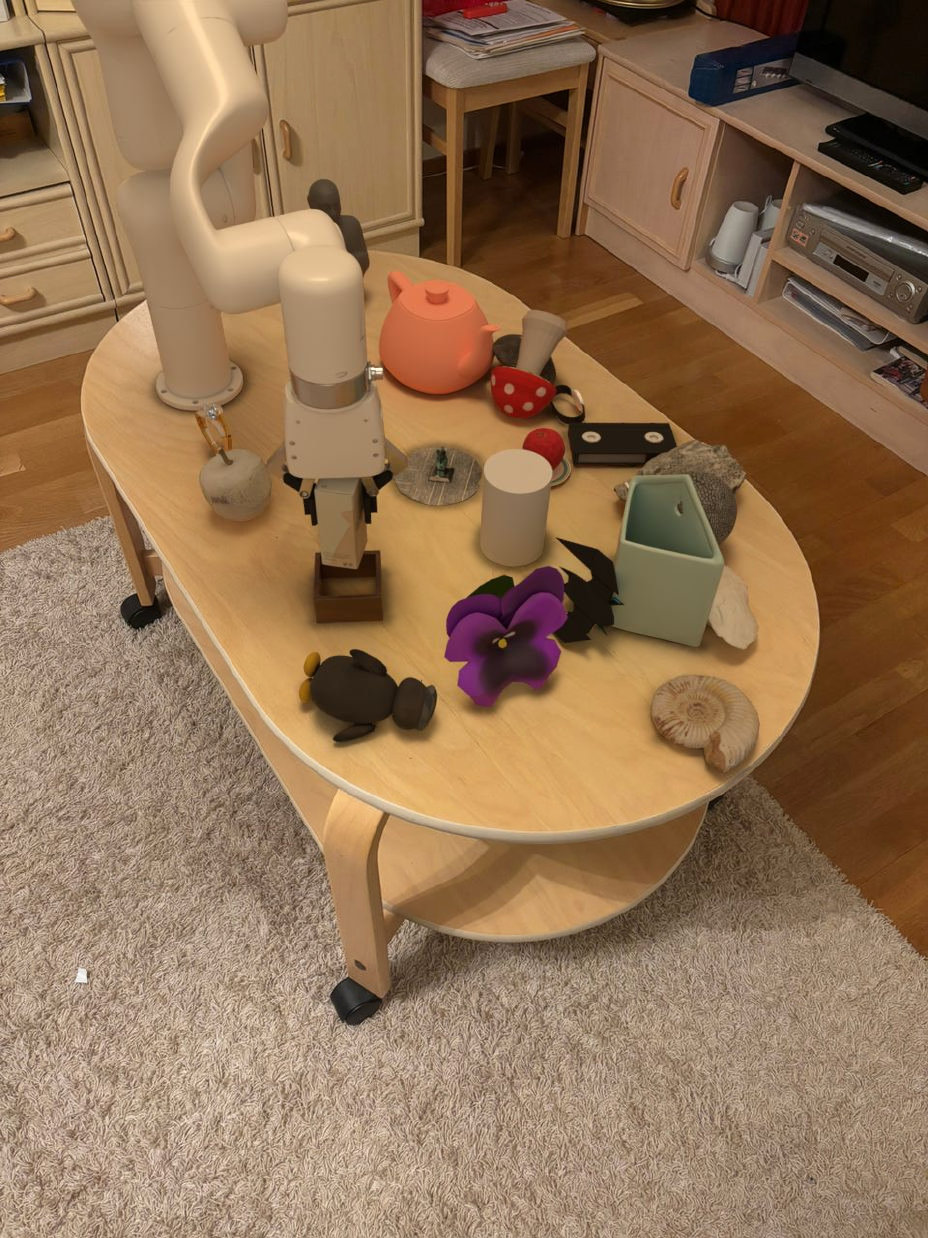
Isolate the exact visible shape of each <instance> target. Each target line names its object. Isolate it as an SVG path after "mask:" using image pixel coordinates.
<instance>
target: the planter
mask: <svg viewBox="0 0 928 1238" xmlns="http://www.w3.org/2000/svg"><path fill="white" fill-rule="evenodd" d="M635 475H636V474H635ZM635 475H634V476H632V477H631V480H630V484H629V489H628V494H627V499H626V502H625V504H624V508H623V509H624V510H623V514H622V520H621V526H620V530H619V535H618V541H617V546H616V549H615V556H614V560H613V565H614V570H615V576H616V581H617V587H618V592H619V596H618V595H617V594H616V593H615V592H614V594H613V596H612V597H613V598H616V599H618V600H619V601H621V602H622V603H623V604H625V605H613V606H611V607H612V611H613V615H614V625H612V626H611V627H614V628H617V629H620V630H624V631H625V632H626V631H627V632H630V633H635V634H640V635H643V636H646V637H651V638H652V637H653V638H657V639H661V640H665V641H670V642H674V643H677V644H682V645H685V646H689V647H694V648H699V647H700V646H701V643H702V640H703V637H704V633H705V630H706V628H707V625H708V624H707V621H708V618H709V615H710V612H711V608H712V605H713V602H714V599H715V596H716V592H717V589H718V586H719V583H720V580H721V576H722V572H723V568H724V565H725V559H724V557H723V554H722V552H721V549H720V546H719V545H718V544H717V541H716V539H715V536H714V534H713V531H712V529H711V527H710V524H709V522H708V519H707V517H706V515H705V512H704V510H703V507H702V505H701V502H700V500H699V497H698V495H697V492H696V490H695V487H694V485H693V482H692V479H691V477H690V476H689V475H688V474H679V475H636V476H635ZM681 501H682V510H683V513H682V514H680V513H679V511H678V508H677V505H678V504H679V503H680V502H681Z"/></svg>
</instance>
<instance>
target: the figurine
mask: <svg viewBox="0 0 928 1238" xmlns="http://www.w3.org/2000/svg"><path fill="white" fill-rule="evenodd" d="M306 200H307V204H308V207H309V209H317V210H321V211H323V212H325V213H326V214H327V215H328V216H329V217H330V218H331V219H332V220H333V222H335V223H336V224H337V225H338V226H339V228H340V230H341V232H342V235H343V238H344V242H345V248H346V250H347V252H348V253H350V254H351V255H352V256H353V257H354V258H355V259H356V260H357V261H358V263H359V265H360V267H361V270H362V274H363V278H364V277H365V274H366V272H367V271H368V270H369V268H370V262H371V261H370V255H369V251H368V248H367V244H366V239H365V236H364V233H363V229H362V225H361V222H360V221H359V220H358V218H357V217H356V216H353V215H350V214H342V204H341V196H340V192H339V188H338V187H337V184H336V183H335V182H334V181H333V180H330V179H328V178H320V179H317V180H315V181H314V182H313V183H311V185H310V187H309V189H308V195H307V196H306Z"/></svg>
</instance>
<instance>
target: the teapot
mask: <svg viewBox="0 0 928 1238" xmlns="http://www.w3.org/2000/svg"><path fill="white" fill-rule="evenodd" d="M387 288H388V293H389V297H390V299H391V303H392V305H391V307H390V309H389V310H388V312H387V314H386V316H385V318H384V320H383V324H382V326H381V327H382V328H381V330H380V335H379V340H378V341H379V342H378V352H379V357H380V359H381V361H382V363H383V365H384V367H385V369H387V370H388V371H389V373H390V374H391V375H392V376H393V378H396V380H397V381H399V382H400V383H401V384H403V385H404V386H406V387H408V388H410V389H411V390H415V391H417V392H420V393H424V394H429V395H430V394H431V395H444V394H450V393H451V394H452V393H454V392H458V391H460V390H463V389H466V388H468V387H469V386H471V385H473V384H474V383H476V382H478V381H479V380H480V379H481V378H482V377H483V376H484V375H485V374H486V373H487V372H488V371H489V370H490V368H491V367H492V365H493V363H494V360H495V355H494V353H493V350H492V349H493V344H494V342H495V341H494V337H493V334H494V333H496V332H498V331H500V330H501V327H500V326H498V325H495V324H490V323H489V322H488V320H487V318H486V315H485V314H484V312H483V310H482V308H481V307H480V305H479V304H478V302H477V300H476V299H475V297H474V296H473V295H472V294H471V292H469V290H467V289H465V288H464V287H462V286H460V285H458V284H456V283H454V282H451V281H447V280H441V279H431V280H425V281H421V282H418V283H416V284H413V282H412V281H411V280H410V279H409V277H407V276H406V275H405V274H404V273H403V272H402V271H398V270H392V271H390V272H389V273H388V274H387Z"/></svg>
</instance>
